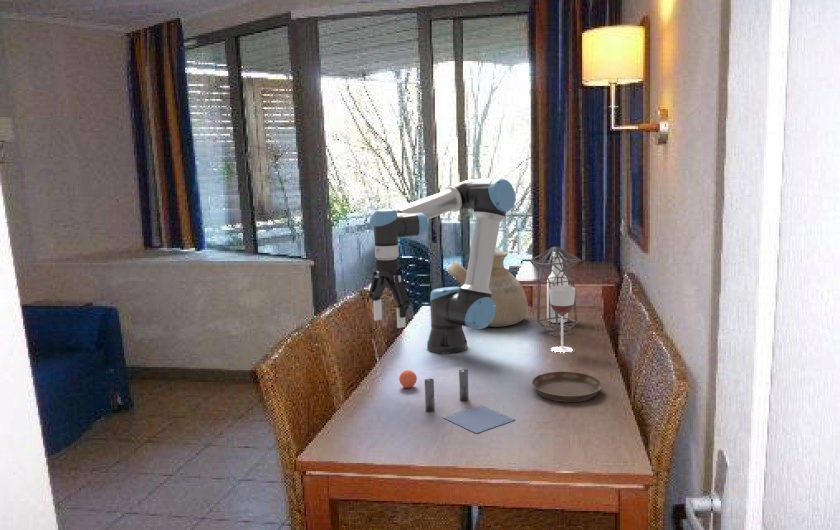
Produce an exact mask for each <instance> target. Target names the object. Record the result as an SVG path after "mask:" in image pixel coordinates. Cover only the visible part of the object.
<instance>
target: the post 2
mask: <svg viewBox="0 0 840 530" xmlns="http://www.w3.org/2000/svg"><path fill="white" fill-rule="evenodd" d="M458 376H459V379H458V380H459V401H460V402H468V401H469V370H468V369H459V371H458Z"/></svg>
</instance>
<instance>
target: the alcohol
mask: <svg viewBox="0 0 840 530" xmlns="http://www.w3.org/2000/svg"><path fill="white" fill-rule="evenodd" d="M561 255H562V254H561ZM558 256H559V255H558ZM562 256H563V255H562ZM553 257H557V256H556V255H555V251H554V253H553V256H552V258H553ZM559 257H560V256H559ZM559 259H560V262H561V263H563V260H562V259H561V258H559ZM553 260H554V259H552V262H553ZM553 263H559V260H558V258H557V259H556V260H555V262H553ZM563 265H564V264H562V268H563V269H564V267H563ZM555 266H557V267H558V268H559V269H560V270H561V271H562V268H561V266H560V264H555ZM551 269H552V270H553V271H554V272H553V271H552V270H551V273H550V274H549V275H548V276H547V277H548V278H550V279H549V280H550V282H553V281H554V279H555V278H551V277H556V275H558V274H559V275H558V277H562V275H563V273H564V271H563V272H560V271H559V270H558V269H557V268H556V267H554V266H553V265H551ZM559 272H560V273H559ZM554 273H555V274H556V275H555V274H554ZM563 277H566V278H568V277H567V276H566V274H564V276H563ZM566 278H562V281H569V279H566ZM546 280H547V281H546V319H548V318H549V283H547V282H549V281H548V279H546ZM555 282H557V278H556V279H555V281H554V282H553V283H554V284H555V286H557V283H555ZM558 282H561V278H558ZM562 283H563V286H569V282H562ZM552 286H553V284H550V287H552ZM558 286H561V283H558ZM564 316H565V318H569V312H568V313H567V314H565V315H564ZM553 317H555V311H554V310H553V309H552V307H551V304H550V318H553ZM558 317H561V315H559V314H558ZM550 320H551V322H552V323H551V324H555V323H556V318H555V319H550ZM548 321H549V320H547V322H548ZM565 322H566V323H567V322H568V320H567V319H564V320H563V324H566V323H565ZM558 323H561V318H558Z"/></svg>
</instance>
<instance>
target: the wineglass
mask: <svg viewBox="0 0 840 530" xmlns="http://www.w3.org/2000/svg"><path fill="white" fill-rule="evenodd" d="M574 287H575V286H574ZM574 287H572V286H570V285H568V286H552V287H550V288H549V295H550V304H551V307H552V309H553V310H554V311H555V312H556V313H558V314H559V315H561V331H560V335H561V336H560V346H559V347H558V346H553V347H550V349H551V350H550V351H551V352H553V351H554V352H553V353H556V352H560V353H559V354H566V353H565V352H570V353H573V352H574V351H573V349H574V348H573V347H571V346H564V335H563V334H564V331H563V329H564V326H563V324H564V323H563V316H564V315H565V314H567V313H568V314H569V312H571V311H572V309H574V307H573V305H574V300H576V288H574ZM572 348H573V349H572ZM572 351H573V352H572ZM561 352H563V353H561Z"/></svg>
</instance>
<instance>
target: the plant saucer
mask: <svg viewBox="0 0 840 530" xmlns="http://www.w3.org/2000/svg"><path fill="white" fill-rule="evenodd" d="M531 385H532V387H533V389H535V391H536V392H537V393H538V394H539V395H541V396H543V397H544V398H546V399H548V400H552V401H556V402H562V401H563V403H577V402H583V401H587V400H590V399H592V398H594V397H595V396H596V395H597V394H598V393H599V392H600V391H601V389H602V388H603V384H602V381H600V379H598V378H596V377H595V376H593V375H590V374H586V373H581V372H576V371H575V372H574V371H553V372H552V371H549V372H546V373H542V374H539V375H536V376H535V377H534V378H533V379H532V381H531Z"/></svg>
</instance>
